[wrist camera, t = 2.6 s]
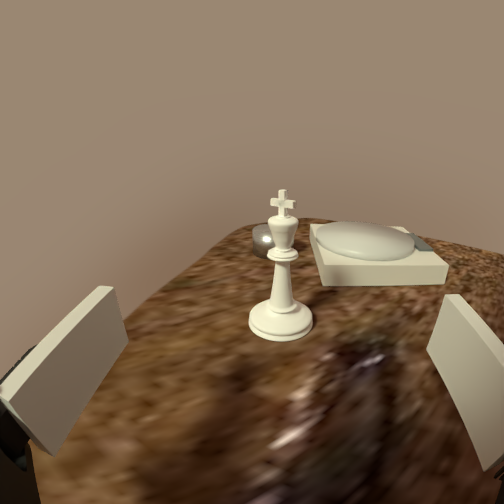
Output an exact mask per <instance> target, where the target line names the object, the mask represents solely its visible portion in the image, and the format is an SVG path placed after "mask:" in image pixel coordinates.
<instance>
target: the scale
mask: <svg viewBox="0 0 504 504" xmlns="http://www.w3.org/2000/svg"><path fill="white" fill-rule="evenodd" d="M310 242H311V245H312V249H313V252H314V256H315V259H316V263H317V266H318V270H319V274H320V277H321V281H322V285H323V286H395V285H432V284H445V280H446V276H447V272H448V267H449V265H448V264H447V263H446V262H445V261H443V260H442V259H441V258H440V257H439V256H438V255H436V254H435V253H434V252H433V248H431V247H430V246H429V245H428V244H426V243H425V242H424V241H423V240H421V239H420V238H419V237H417V236H416V235H415V234H414V233H409V232H408V231H407V230H405V229H404V228H403V227H391V226H390V227H389V226H384V225H380V224H374V223H367V222H355V221H345V222H333V223H328V224H310Z"/></svg>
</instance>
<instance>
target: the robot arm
mask: <svg viewBox="0 0 504 504" xmlns="http://www.w3.org/2000/svg"><path fill="white" fill-rule="evenodd" d="M128 342H129V340H128V337H127V334H126V330H125V327H124V324H123V320H122V316H121V313H120V309H119V305H118V301H117V297H116V293H115V289H114V287H108V286H99V287H97V288H96V289H95V290H94V291H93V292H92V293H91V294H90V295H89V296H87V297H86V298H85V299H84V300H83V301H82V302H81V303H80V304H79V305H78V306H77V307H76V308H75V309H73V310H72V311H71V312H70V313H69V314H68V315H67V316H66V317H65V318H64V319H63V320H62V321H61V322H60V323H59V324H58V325H57V326H56V327H55V328H54V329H53V330H52V331H51V332H50V333H49V334H48V335H47V336H46V337H45V338H44V339H43V340H42V341H41V342H40V343H39V344H37V345H35V346H34V347H32V348H31V349H29V350H28V351H27V352H26V353H25V354H24V355H23V356H22V357H21V360H18V362H17V363H16V364H15V366H14V367H12V368H11V369H10V370H9V371H8V373H6V375H5V376H4V377H3V378H2V379H1V380H0V504H41V502H40V497H39V493H38V488H37V483H36V478H35V473H34V466H33V460H32V452H31V448H30V445H29V444H28V443H27V442H28V441H29V439H31V440H32V441H33V442H34V443H35V445H36V446H37V447H38V448H39V449H41V450H43V451H44V452H46V453H48V454H50V455H51V456H53V457H55V456H56V454H57V452H58V451H59V449H60V447H61V446H62V444H63V442H64V441H65V439H66V437H67V436H68V434H69V432H70V431H71V429H72V427H73V426H74V424H75V423H76V421H77V419H78V418H79V416H80V415H81V413H82V411H83V410H84V408H85V407H86V405H87V403H88V402H89V400H90V399H91V397H92V396H93V394H94V393H95V391H96V390H97V388H98V386H99V385H100V383H101V382H102V380H103V379H104V377H105V376H106V374H107V373H108V371H109V370H110V368H111V367H112V365H113V364H114V362H115V361H116V359H117V358H118V357H119V355H120V354H121V352H122V351H123V349H124V348H125V346H126V345H127V343H128ZM426 350H427V352H428V353H429V355H430V357H431V359H432V361H433V362H434V364H435V366H436V368H437V370H438V372H439V374H440V375H441V377H442V379H443V381H444V383H445V385H446V387H447V389H448V391H449V393H450V395H451V397H452V399H453V401H454V403H455V405H456V407H457V409H458V411H459V414H460V416H461V418H462V420H463V422H464V425H465V427H466V429H467V431H468V434H469V436H470V438H471V441H472V443H473V446H474V448H475V450H476V453H477V456H478V458H479V461H480V463H481V466H482V469H483V472H485V471H487V470H489V469H491V468H493V467H495V466H497V465H499V464H500V463H501V462H502V461H503V460H504V345H503V343H502V342H501V341H500V340H499V338H498V337H497V336H496V335H495V334H494V332H493V331H492V330H491V329H490V328H489V327H488V325H487V324H486V323H485V322H484V321H483V320H482V319H481V318H480V316H479V315H478V314H477V313H476V312H475V311H474V310H473V309H472V308H471V306H470V305H469V304H468V303H467V302H466V301H465V300H464V299H463V298H462V297H461V296H460V295H459V294H451V295H445V296H444V300H443V303H442V306H441V310H440V313H439V316H438V319H437V322H436V325H435V327H434V330H433V333H432V336H431V339H430V341H429V344H428V346H427V349H426ZM503 472H504V466H503V467H502V468H501V469H500V470H499V471H498V472H497V473H496V474H495V476H494V478H495V479H496V478H497V477H498V476H500V475H501V474H502V473H503ZM499 480H502V484H501V488H500V491H499V494H498V497H497V500H496V503H495V504H504V474H503V475H502V476H501V477H500V478H499Z"/></svg>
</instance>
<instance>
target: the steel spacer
mask: <svg viewBox="0 0 504 504" xmlns="http://www.w3.org/2000/svg"><path fill="white" fill-rule="evenodd" d="M275 246H276V245H275V243H274V240H273V236H272V233H271V230H270V228H269V225H268V224H263V225H259V226H256V227H254V228H253V254H254V255H255V256H257V257H259V258H263V259H269V258H268V257H267V254H268V251H269V250H270V249H272V248H274V247H275ZM290 247H291V248H293V249H294V237H293V240H292V243H291V245H290ZM270 260H271V259H270Z"/></svg>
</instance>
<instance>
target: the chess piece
mask: <svg viewBox="0 0 504 504" xmlns="http://www.w3.org/2000/svg"><path fill="white" fill-rule="evenodd" d="M271 206H278V207H279V215H277V216H273V217H271V218H270V219H269V220H268V225H269V228H270V230H271V233H272V236H273V240H274V243H275V245H276V246H275V247H274V248H272V249H270V250H269V251H268V254H267V257H268V258H269V259H271V260H274V261H276V264H275V272H274V280H273V286H272V293H271V298H270V299H269V300H266V301H263V302H261V303H259V304H257V305H256V306H255V307H254V308H253V309H252V310H251V312H250V316H249V317H250V318H249V327H250V329H251V330H252V331H253V332H254V333H255V334H256V335H258V336H260V337H262V338H264V339H267V340H271V341H280V342H283V341H292V340H296V339H299V338H301V337H303V336H305V335H306V334H307V333H308V332H309V331H310V330H311V328H312V325H313V321H312V313H311V311H310V310H309V308H308V307H307V306H305V305H304V304H302V303H300V302H298V301H295V300H294V299H293V297H292V288H291V278H290V263H289V261H293V260H295V259H297V258H298V252H297V251H296V250H295V249H293V248H291V247H290V245H291V243H292V240H293V237H294V234H295V231H296V229H297V226H298V219H296V218H295V217H293V216H290V215H288V208H292V209H293V208H296V201H294V200H288V190H279V198H272V199H271Z"/></svg>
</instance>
